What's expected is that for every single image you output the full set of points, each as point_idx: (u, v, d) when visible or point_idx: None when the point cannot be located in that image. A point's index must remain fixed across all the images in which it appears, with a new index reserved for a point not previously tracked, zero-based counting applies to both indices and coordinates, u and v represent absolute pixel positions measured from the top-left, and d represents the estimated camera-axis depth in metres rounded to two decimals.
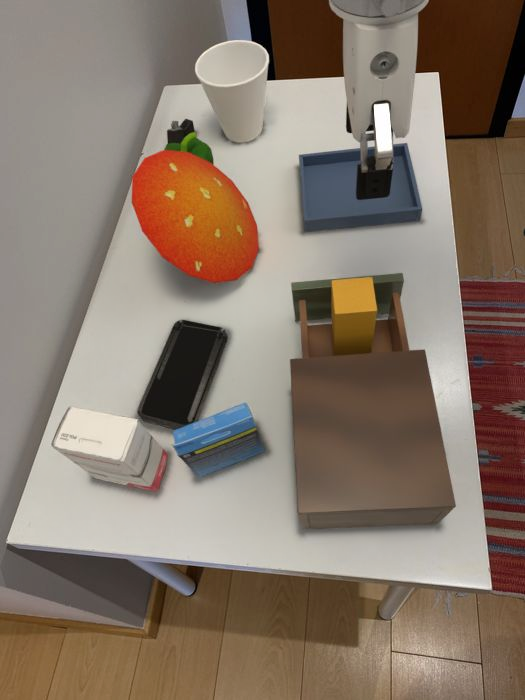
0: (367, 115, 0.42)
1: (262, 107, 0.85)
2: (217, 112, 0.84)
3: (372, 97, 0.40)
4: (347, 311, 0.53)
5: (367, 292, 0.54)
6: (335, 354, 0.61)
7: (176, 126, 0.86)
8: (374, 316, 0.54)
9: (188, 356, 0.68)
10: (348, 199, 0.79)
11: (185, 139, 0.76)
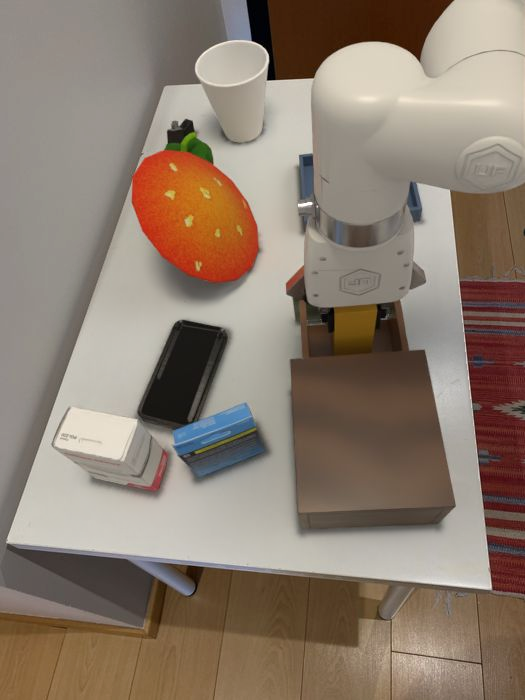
0: None
1: (262, 107, 0.85)
2: (217, 112, 0.84)
3: None
4: (347, 311, 0.53)
5: None
6: (335, 354, 0.61)
7: (176, 126, 0.86)
8: (374, 316, 0.54)
9: (188, 356, 0.68)
10: None
11: (185, 139, 0.76)
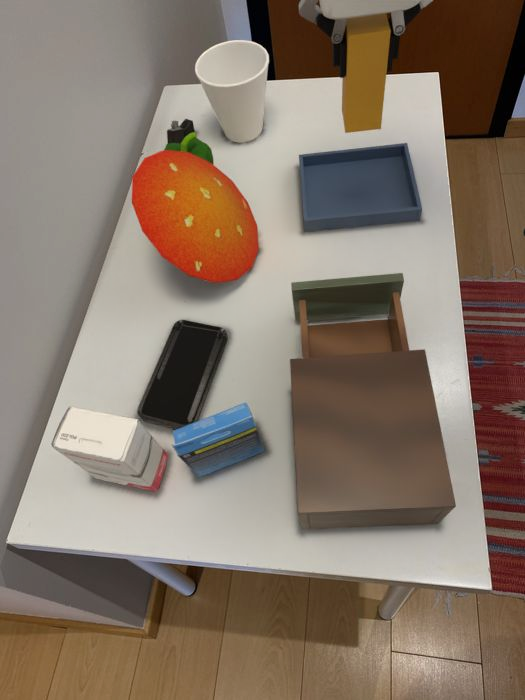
0: None
1: (262, 107, 0.85)
2: (217, 112, 0.84)
3: None
4: (360, 33, 0.53)
5: (380, 18, 0.54)
6: (346, 112, 0.61)
7: (176, 126, 0.86)
8: (387, 41, 0.54)
9: (188, 356, 0.68)
10: (348, 199, 0.79)
11: (185, 139, 0.76)
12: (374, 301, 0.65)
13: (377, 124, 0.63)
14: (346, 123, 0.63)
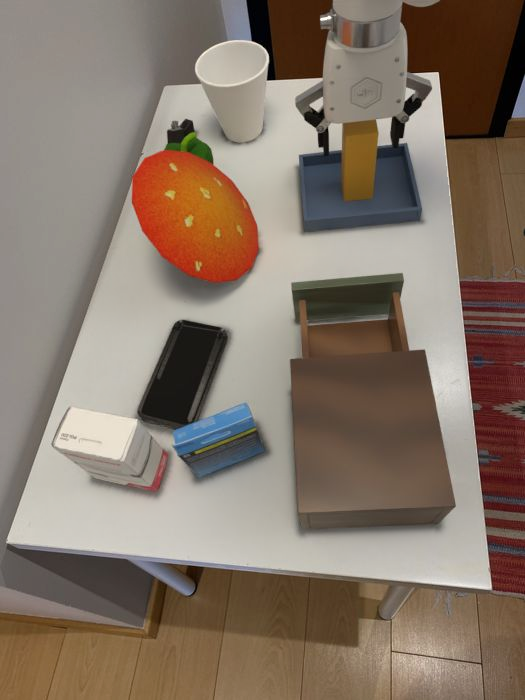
0: None
1: (262, 107, 0.85)
2: (217, 112, 0.84)
3: None
4: (355, 134, 0.68)
5: (370, 121, 0.69)
6: (344, 187, 0.76)
7: (176, 126, 0.86)
8: (376, 140, 0.69)
9: (188, 356, 0.68)
10: None
11: (185, 139, 0.76)
12: (374, 301, 0.65)
13: (369, 195, 0.78)
14: (344, 195, 0.78)
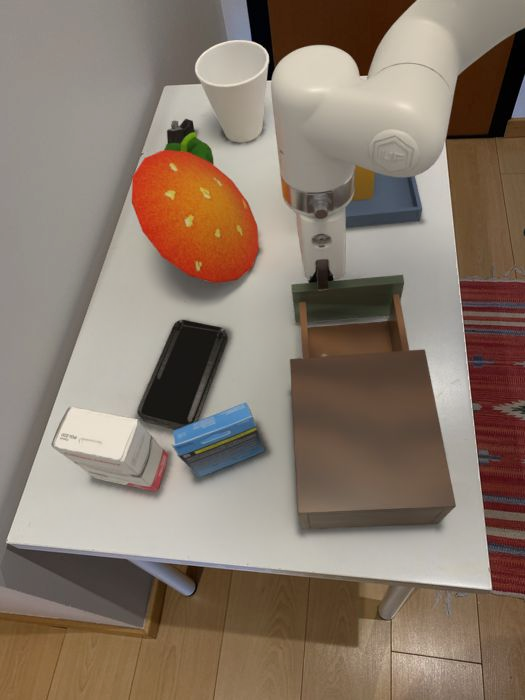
0: (312, 267, 0.57)
1: (262, 107, 0.85)
2: (217, 112, 0.84)
3: (315, 264, 0.56)
4: None
5: None
6: None
7: (176, 126, 0.86)
8: None
9: (188, 356, 0.68)
10: None
11: (185, 139, 0.76)
12: (374, 303, 0.65)
13: (369, 195, 0.78)
14: None
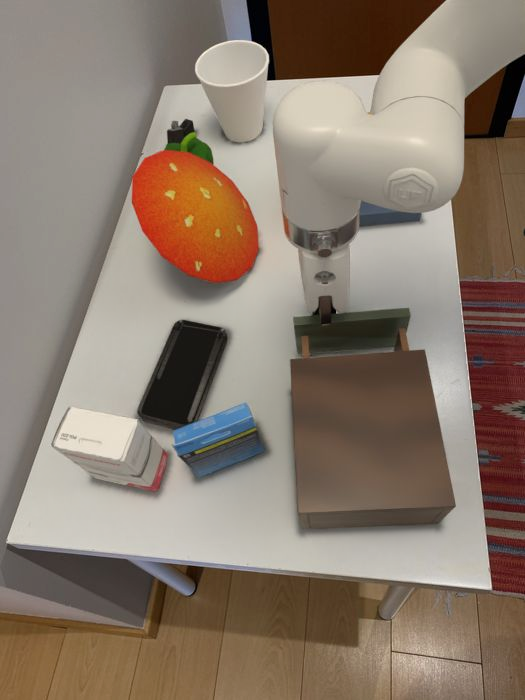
0: (315, 302, 0.54)
1: (262, 107, 0.85)
2: (217, 112, 0.84)
3: (318, 300, 0.54)
4: None
5: None
6: None
7: (176, 126, 0.86)
8: None
9: (188, 356, 0.68)
10: None
11: (185, 139, 0.76)
12: (379, 335, 0.63)
13: None
14: None
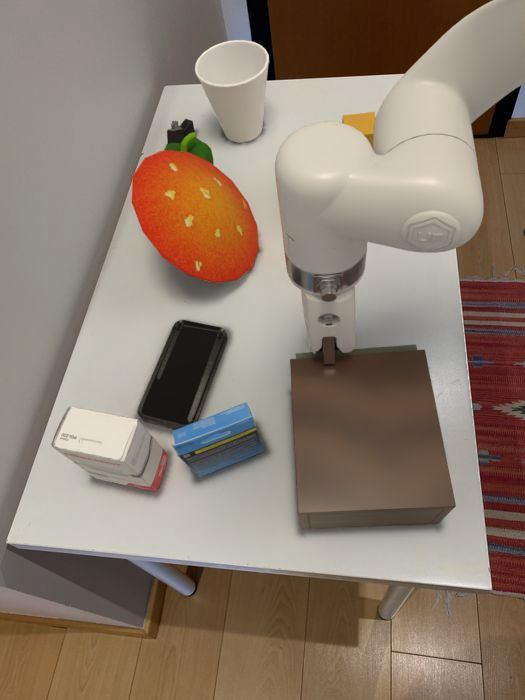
0: (318, 343, 0.52)
1: (262, 107, 0.85)
2: (217, 112, 0.84)
3: (321, 340, 0.52)
4: None
5: (370, 121, 0.69)
6: None
7: (176, 126, 0.86)
8: None
9: (188, 356, 0.68)
10: None
11: (185, 139, 0.76)
12: None
13: None
14: None
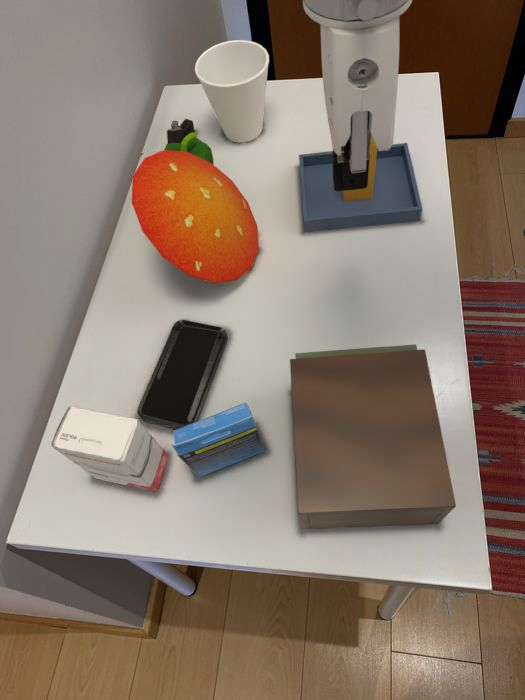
0: (346, 127, 0.38)
1: (262, 107, 0.85)
2: (217, 112, 0.84)
3: (350, 122, 0.38)
4: None
5: None
6: None
7: (176, 126, 0.86)
8: None
9: (188, 356, 0.68)
10: None
11: (185, 139, 0.76)
12: None
13: (369, 195, 0.78)
14: (344, 195, 0.78)
